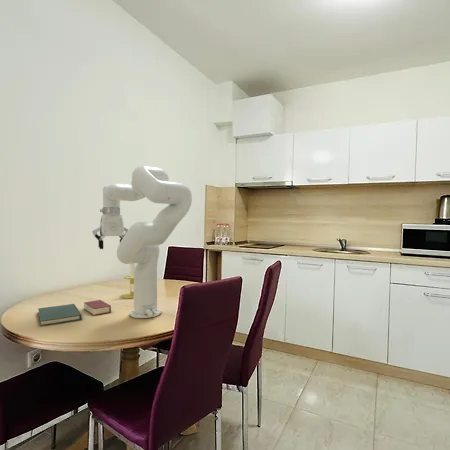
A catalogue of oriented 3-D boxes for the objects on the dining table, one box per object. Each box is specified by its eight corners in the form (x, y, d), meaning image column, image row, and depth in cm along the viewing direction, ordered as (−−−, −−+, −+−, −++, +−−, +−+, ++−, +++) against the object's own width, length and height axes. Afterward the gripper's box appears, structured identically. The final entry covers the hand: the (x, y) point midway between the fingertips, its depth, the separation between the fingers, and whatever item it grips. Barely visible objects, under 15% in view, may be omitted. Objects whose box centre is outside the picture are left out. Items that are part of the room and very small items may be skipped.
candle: (118, 296, 167) (118, 244, 166) (133, 292, 175) (133, 243, 174) (131, 299, 161) (131, 245, 161) (146, 295, 169) (146, 244, 169)
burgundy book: (110, 312, 138) (110, 305, 138) (94, 315, 133) (94, 308, 133) (99, 306, 148) (99, 299, 148) (84, 309, 143) (84, 302, 143)
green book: (81, 319, 128) (81, 314, 128) (40, 326, 120) (40, 320, 120) (74, 308, 145) (74, 303, 145) (38, 313, 137) (38, 308, 137)
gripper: (95, 211, 142) (95, 250, 143) (132, 212, 154) (132, 247, 154) (89, 211, 148) (90, 248, 148) (125, 212, 159) (126, 246, 160)
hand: (111, 248), depth 151 cm, fingers open, 9 cm apart
